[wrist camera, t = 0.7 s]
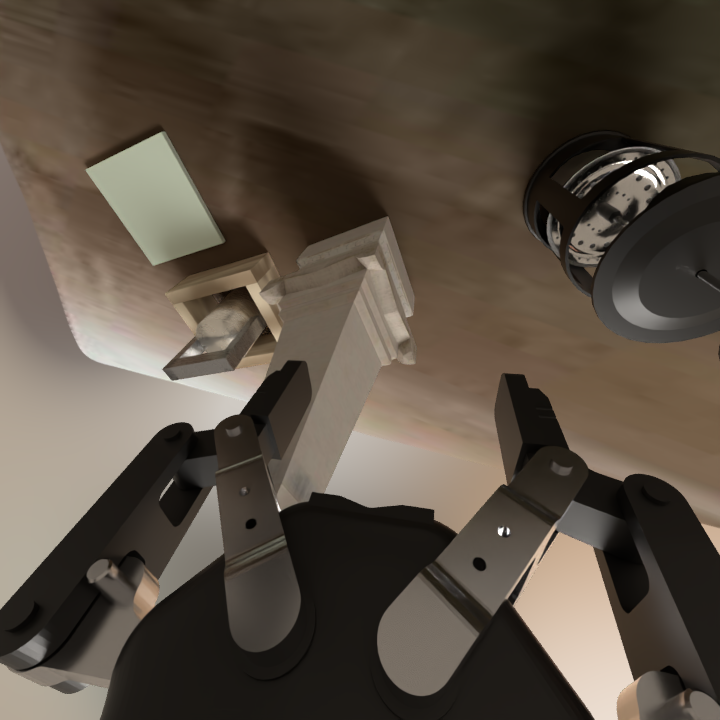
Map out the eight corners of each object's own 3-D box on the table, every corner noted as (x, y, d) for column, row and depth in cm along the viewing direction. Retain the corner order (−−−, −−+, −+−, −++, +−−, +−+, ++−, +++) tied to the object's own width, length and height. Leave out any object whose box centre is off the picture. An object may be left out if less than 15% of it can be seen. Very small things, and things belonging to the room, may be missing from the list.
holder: (189, 275, 42) (164, 293, 38) (268, 252, 38) (250, 269, 34) (237, 349, 48) (221, 371, 45) (309, 336, 45) (297, 358, 41)
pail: (214, 293, 43) (148, 352, 33) (266, 279, 40) (212, 339, 30) (237, 330, 46) (184, 395, 36) (287, 320, 44) (245, 386, 34)
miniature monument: (340, 320, 42) (231, 589, 19) (302, 243, 37) (84, 492, 14) (419, 299, 38) (401, 601, 15) (390, 209, 33) (295, 475, 10)
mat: (89, 168, 35) (85, 169, 35) (165, 131, 32) (161, 132, 31) (156, 263, 41) (153, 265, 41) (225, 241, 38) (223, 243, 37)
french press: (497, 229, 32) (576, 390, 15) (553, 113, 26) (801, 149, 9) (611, 261, 32) (827, 459, 15) (693, 152, 26) (1226, 268, 9)
